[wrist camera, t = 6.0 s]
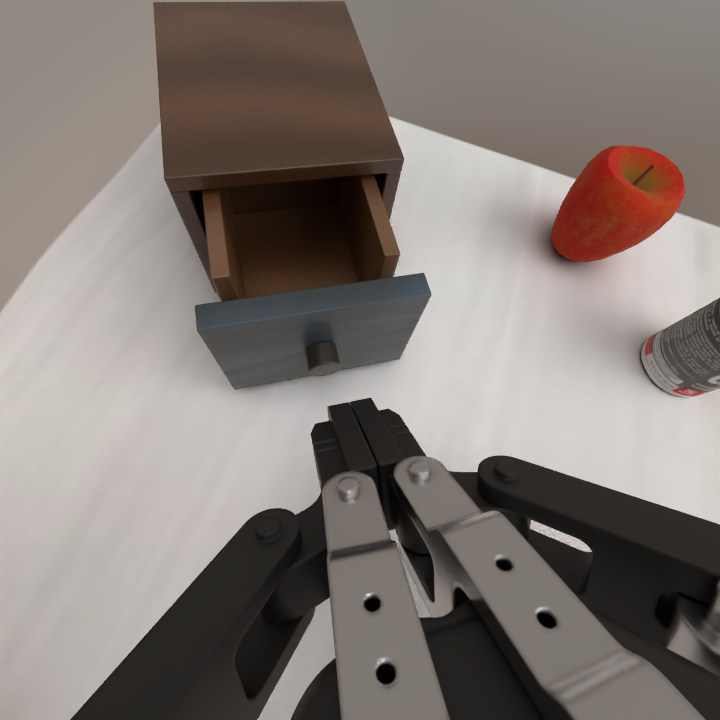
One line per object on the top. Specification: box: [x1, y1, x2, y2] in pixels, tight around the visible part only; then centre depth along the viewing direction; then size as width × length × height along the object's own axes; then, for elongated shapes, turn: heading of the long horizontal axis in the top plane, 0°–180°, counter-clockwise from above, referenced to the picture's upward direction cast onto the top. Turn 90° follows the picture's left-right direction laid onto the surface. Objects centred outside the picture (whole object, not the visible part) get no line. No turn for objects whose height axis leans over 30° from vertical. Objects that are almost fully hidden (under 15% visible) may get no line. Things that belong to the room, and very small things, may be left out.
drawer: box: [195, 174, 431, 389], centre depth 21 cm, size 14×10×7 cm
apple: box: [552, 146, 685, 262], centre depth 26 cm, size 6×6×8 cm
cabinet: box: [153, 1, 404, 293], centre depth 24 cm, size 14×11×9 cm
